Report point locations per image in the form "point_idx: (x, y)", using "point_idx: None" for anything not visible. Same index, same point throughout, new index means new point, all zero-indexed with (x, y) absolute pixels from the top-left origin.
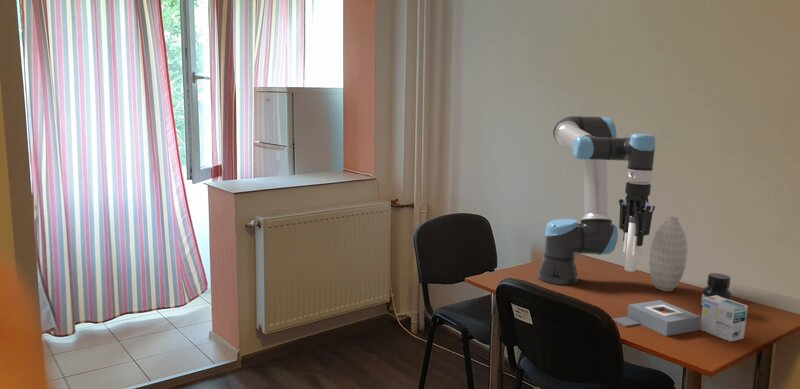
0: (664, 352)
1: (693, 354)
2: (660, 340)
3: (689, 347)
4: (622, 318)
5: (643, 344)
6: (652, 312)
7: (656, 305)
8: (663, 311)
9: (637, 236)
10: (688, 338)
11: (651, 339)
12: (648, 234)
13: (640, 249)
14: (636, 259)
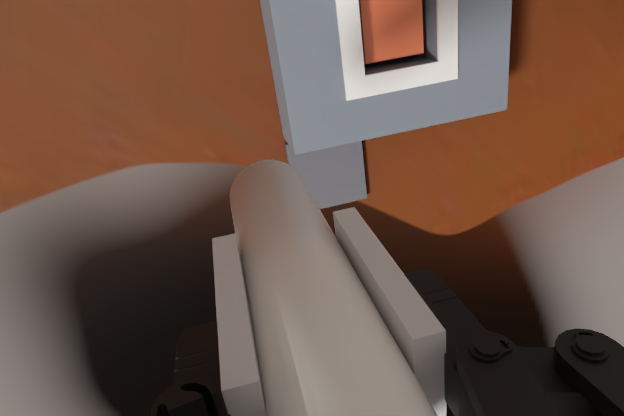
0: (556, 185)
1: (603, 105)
2: (492, 141)
3: (567, 78)
4: (302, 171)
5: (494, 214)
6: (404, 102)
7: (338, 19)
8: (370, 4)
9: (443, 391)
10: (517, 21)
11: (475, 167)
12: (599, 341)
13: (373, 236)
14: (310, 200)
